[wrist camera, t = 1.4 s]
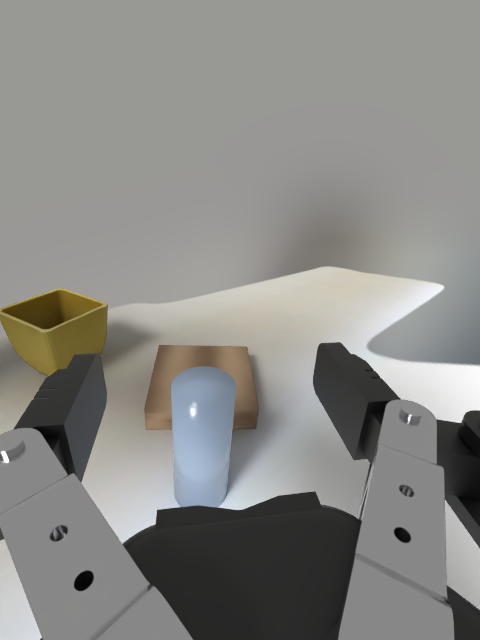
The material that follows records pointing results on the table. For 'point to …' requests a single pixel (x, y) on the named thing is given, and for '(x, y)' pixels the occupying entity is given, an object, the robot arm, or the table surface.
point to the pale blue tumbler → (202, 435)
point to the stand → (186, 357)
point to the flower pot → (55, 328)
